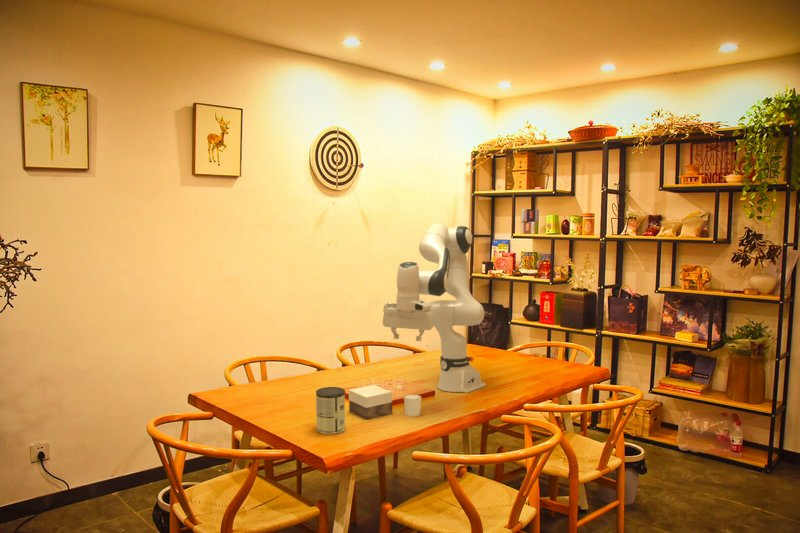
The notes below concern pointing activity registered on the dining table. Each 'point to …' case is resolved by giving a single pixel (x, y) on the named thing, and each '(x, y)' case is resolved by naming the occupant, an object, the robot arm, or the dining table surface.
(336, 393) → the coffee can
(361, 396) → the cream top block
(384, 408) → the walnut base block
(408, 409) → the white cylinder
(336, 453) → the dining table surface
